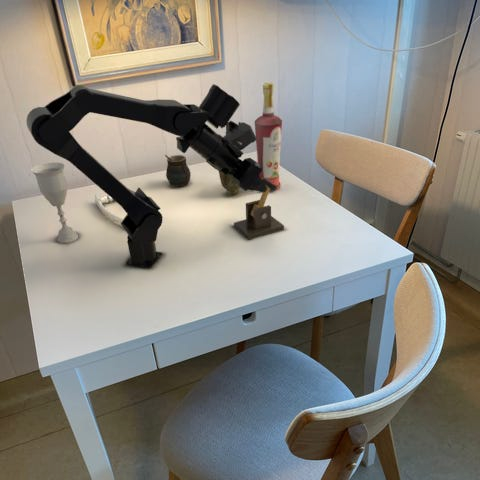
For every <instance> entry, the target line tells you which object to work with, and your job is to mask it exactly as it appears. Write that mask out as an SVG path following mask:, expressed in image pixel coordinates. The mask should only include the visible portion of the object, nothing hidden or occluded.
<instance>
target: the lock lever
mask: <svg viewBox="0 0 480 480" xmlns="http://www.w3.org/2000/svg"><path fill="white" fill-rule="evenodd" d="M262 181H263V182H264V184H265V185H266V187H267V190H266V192H261V195H260V198H259V200H260V201H259V203H258V205H257V204H254V206H253V209H257V208H260V207H264V206H265V204H266V201H267V199H268V196H269V193H270V192H271V191H270V189H271V190H273V191H272V192H274V191H276V190H277V189H276V186H275V185H274V184H272V183H271V182H269V181H268V180H266V179H265V178H264V179H262ZM275 189H276V190H275ZM253 209H252V212H251V215H252V216H253Z"/></svg>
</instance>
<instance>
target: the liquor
mask: <svg viewBox="0 0 480 480" xmlns="http://www.w3.org/2000/svg"><path fill="white" fill-rule="evenodd" d="M262 95H263V104H262V105H263V106H262V115H259V117H257V118H256V119H255V120H254V134H255V136H256V141H255V146H256V147H255V148H256V149H255V150H256V162H257V163H259V164H260V165H261V166H262V167H263V169H262V171H261V173H260V174H259V175H260V177H261V179H264V178H265V179H266V180H268V181H269V182H271V183H272V184H274V185H275V186H276V189H275V190H274V191H276V190H277V189H278V188H279V187H280V186H281V181H280V164H281V163H280V162H281V161H280V160H281V149H282V148H281V147H282V129H283V120H282V119H281V118H280V117H279V116H277V115H275V112H274V100H273V95H274V83H272V82H263V83H262ZM274 191H273V190H271V189H270V191H269V192H274Z"/></svg>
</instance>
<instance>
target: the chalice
mask: <svg viewBox="0 0 480 480" xmlns="http://www.w3.org/2000/svg"><path fill="white" fill-rule="evenodd" d="M64 169H65V164H64V163H63V162H57V161H56V162H55V161H53V162H52V161H51V162H44V163H41V164H40V163H39V164H38V165H35V166H33V167H32V168H31V172H32V173H33V174H34V176H35V178H36V182H37V185H38V188H39V191H40V193H41V194H42V196H43V197H44V199H46V200H47V202H49V204H50V205H51V206H52V207H56V209H57V213H56V214H57V216H59V220H58V222H60V223H61V226H62V227H61V228H60V229H59V230H58V233H57V234H58V235H57V242H59V243H62V244H67V243H72V242H75V241H76V240H77V239H78V238H79V235H78V233H76V231H75V230H74V229H73V228H72V227H69V226H68V225H67V218H65V212H64V210H63V208H62V206H63V205H65V203H66V198H67V193H68V183H67V179H66V175H65V172H64Z"/></svg>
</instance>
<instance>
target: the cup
mask: <svg viewBox="0 0 480 480" xmlns="http://www.w3.org/2000/svg"><path fill="white" fill-rule="evenodd" d="M218 174H219V180H220V184H221V186H222V187H223V189H224V190H226V191H225V193H226V194H227V196H231V197H232V196H233V197H234V196H237V195H239V193H240V189H241V188H240V187H239V186H238V185H237V184H235V183H234V182H233V177H232V176H233V175H229V174H227V175H225V174H224V173H222V172H219V171H218Z"/></svg>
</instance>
